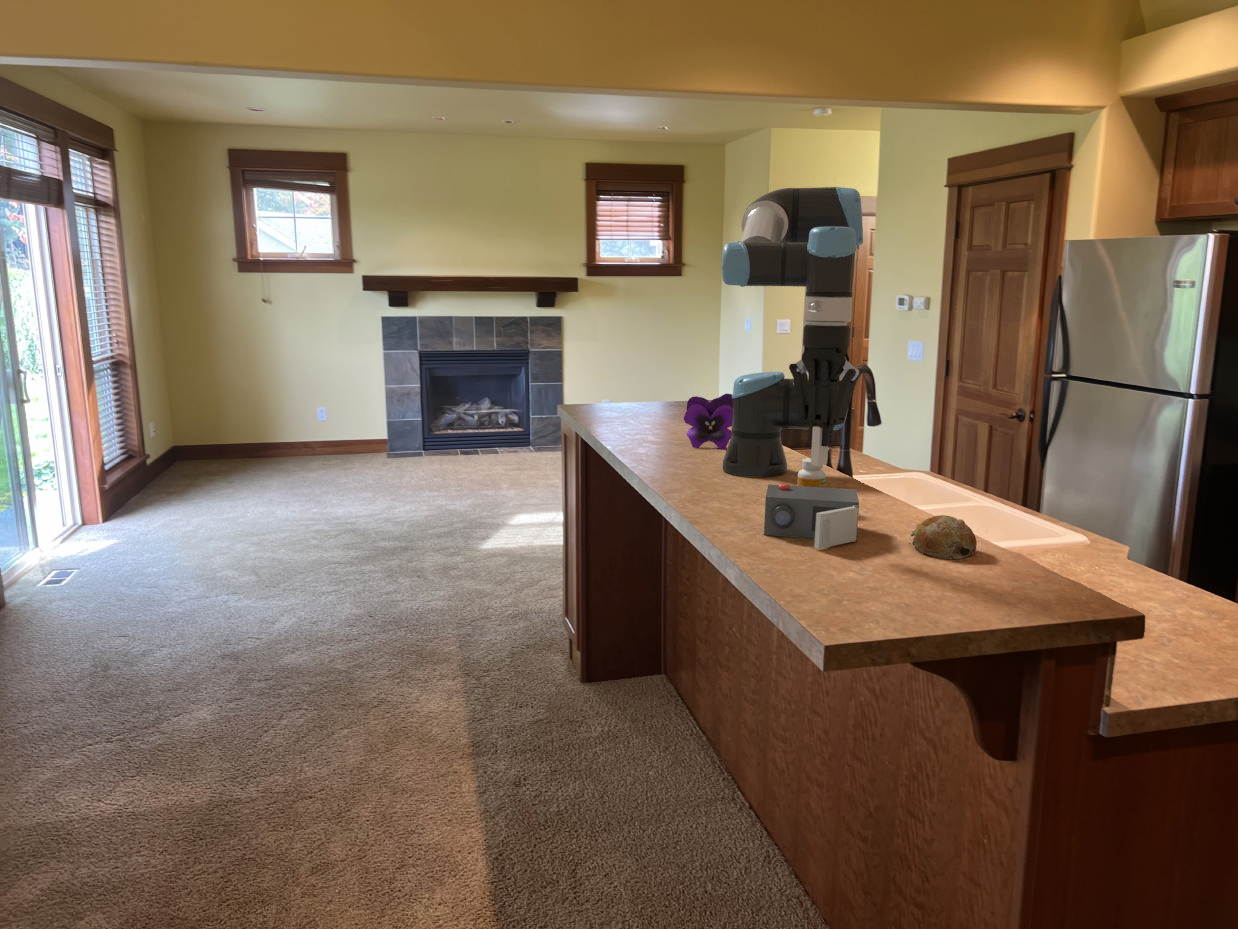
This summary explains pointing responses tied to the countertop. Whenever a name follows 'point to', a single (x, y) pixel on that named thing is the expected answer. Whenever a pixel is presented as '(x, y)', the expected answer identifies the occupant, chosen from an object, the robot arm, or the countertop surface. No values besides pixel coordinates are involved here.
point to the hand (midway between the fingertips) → (818, 464)
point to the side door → (836, 527)
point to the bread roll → (944, 538)
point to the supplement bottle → (811, 475)
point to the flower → (709, 420)
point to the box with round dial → (801, 508)
